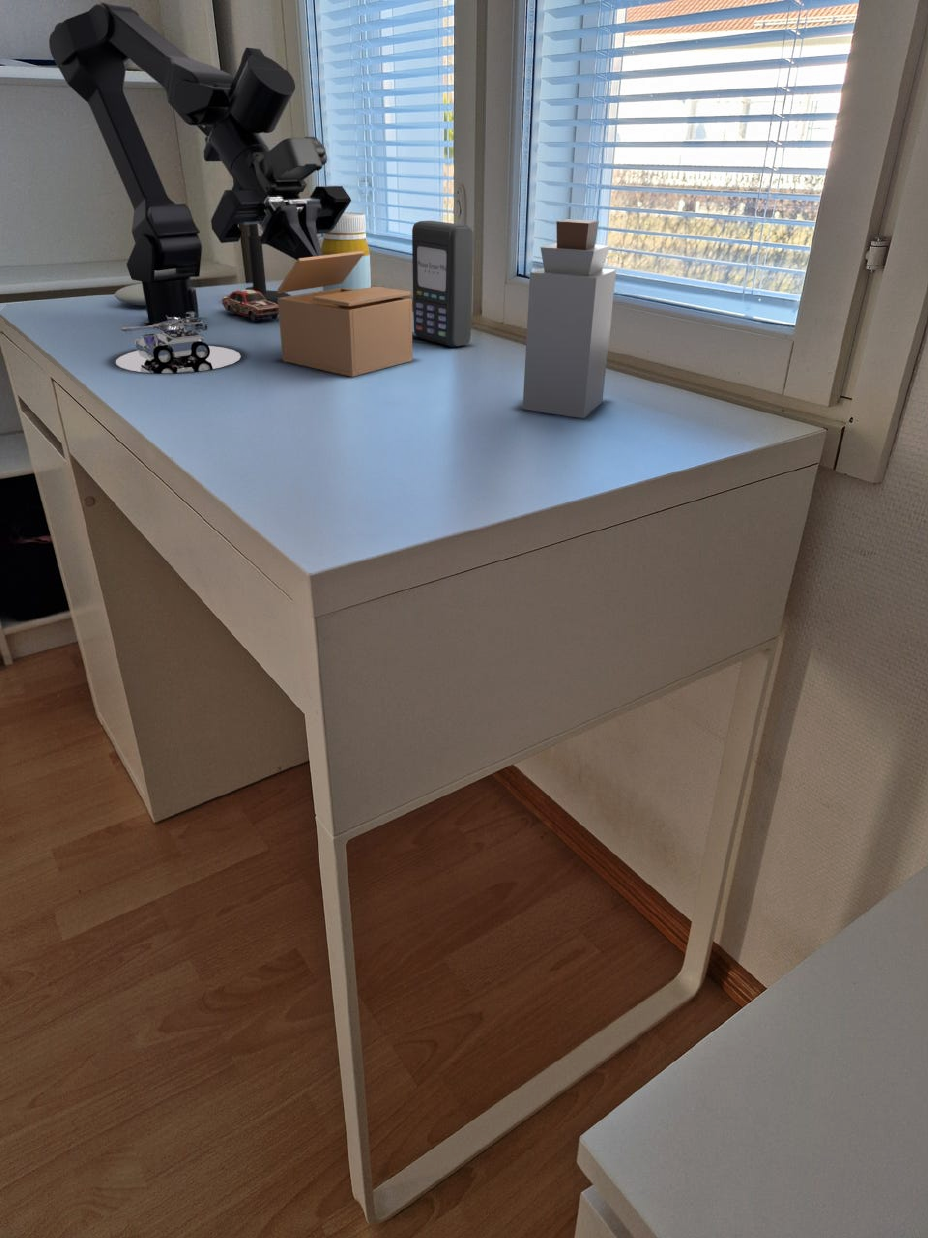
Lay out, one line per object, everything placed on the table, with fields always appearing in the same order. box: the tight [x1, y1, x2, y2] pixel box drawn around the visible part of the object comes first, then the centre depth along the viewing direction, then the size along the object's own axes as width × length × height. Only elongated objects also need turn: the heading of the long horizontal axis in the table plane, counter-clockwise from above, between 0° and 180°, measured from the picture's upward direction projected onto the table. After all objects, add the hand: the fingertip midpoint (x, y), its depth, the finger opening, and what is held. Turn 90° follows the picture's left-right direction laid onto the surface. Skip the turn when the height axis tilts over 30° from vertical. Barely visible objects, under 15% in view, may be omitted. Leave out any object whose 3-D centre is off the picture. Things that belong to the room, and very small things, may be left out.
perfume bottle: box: [522, 218, 617, 419], centre depth 85 cm, size 7×7×18 cm
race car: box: [221, 289, 279, 323], centre depth 128 cm, size 5×12×5 cm, turn 36°
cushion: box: [114, 283, 146, 307], centre depth 136 cm, size 12×12×3 cm
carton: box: [278, 286, 413, 378], centre depth 103 cm, size 12×11×8 cm
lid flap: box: [276, 251, 364, 293], centre depth 102 cm, size 6×11×1 cm
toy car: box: [115, 309, 242, 374], centre depth 104 cm, size 15×15×5 cm
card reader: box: [411, 220, 475, 348], centre depth 113 cm, size 9×4×15 cm, turn 41°
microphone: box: [195, 125, 292, 305], centre depth 138 cm, size 12×23×30 cm, turn 28°
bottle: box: [320, 211, 372, 291], centre depth 122 cm, size 7×7×15 cm
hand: (321, 269), depth 102 cm, fingers closed, pressing on lid flap
